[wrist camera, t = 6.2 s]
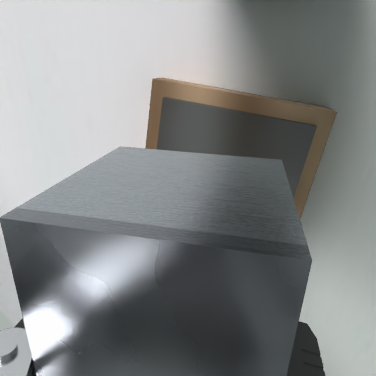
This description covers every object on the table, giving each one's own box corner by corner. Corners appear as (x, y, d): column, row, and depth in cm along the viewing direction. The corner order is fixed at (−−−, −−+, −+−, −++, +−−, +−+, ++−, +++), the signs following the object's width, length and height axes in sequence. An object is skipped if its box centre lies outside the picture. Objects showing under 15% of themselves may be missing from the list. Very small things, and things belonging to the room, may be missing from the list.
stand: (146, 217, 27) (134, 234, 24) (162, 77, 22) (149, 78, 20) (280, 250, 26) (283, 271, 23) (328, 107, 21) (339, 113, 18)
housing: (120, 146, 10) (-1, 218, 5) (281, 159, 9) (311, 260, 4) (133, 365, 13) (70, 519, 9) (246, 390, 12) (242, 575, 8)
